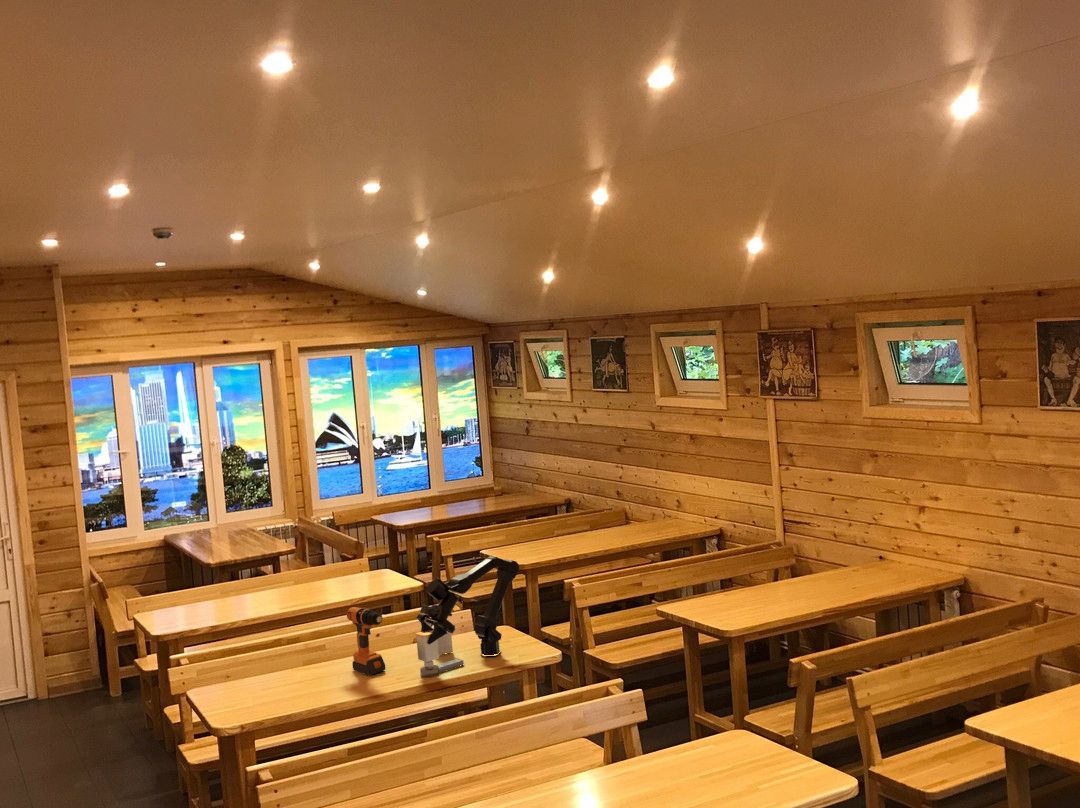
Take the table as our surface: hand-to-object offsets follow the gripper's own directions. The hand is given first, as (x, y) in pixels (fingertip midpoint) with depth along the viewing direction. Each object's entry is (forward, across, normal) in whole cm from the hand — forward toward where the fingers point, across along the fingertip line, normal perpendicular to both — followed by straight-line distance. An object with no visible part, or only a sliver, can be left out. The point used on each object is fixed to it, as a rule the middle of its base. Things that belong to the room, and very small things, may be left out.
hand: (424, 642), depth 387 cm
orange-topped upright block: (+4, 0, +6) cm, 7 cm away
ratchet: (+4, 0, +14) cm, 14 cm away
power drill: (+17, -22, +1) cm, 28 cm away
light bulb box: (-6, -21, +24) cm, 33 cm away
